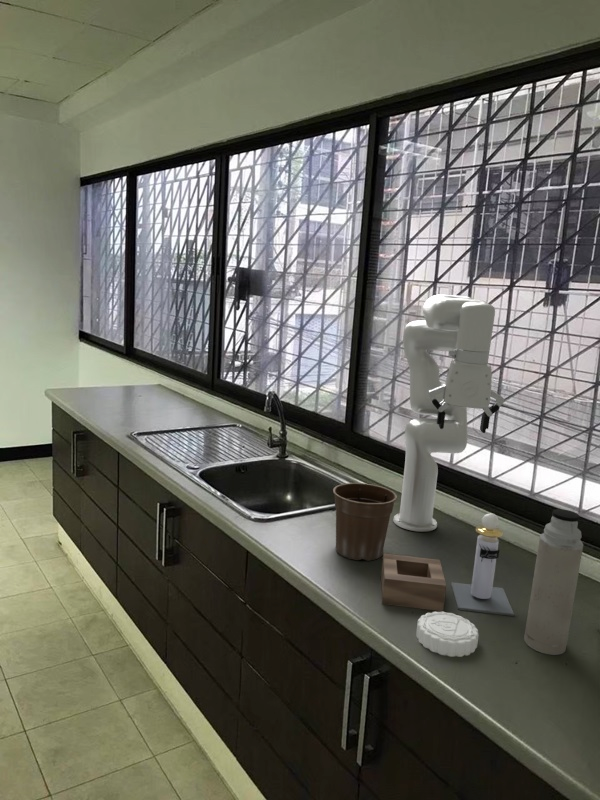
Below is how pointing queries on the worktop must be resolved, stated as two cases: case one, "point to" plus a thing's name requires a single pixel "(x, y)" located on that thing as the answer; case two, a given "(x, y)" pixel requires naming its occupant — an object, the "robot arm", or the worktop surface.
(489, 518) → the perfume bottle
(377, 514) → the plant pot
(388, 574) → the frame
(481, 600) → the mat
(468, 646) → the mooncake
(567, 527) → the thermos bottle
